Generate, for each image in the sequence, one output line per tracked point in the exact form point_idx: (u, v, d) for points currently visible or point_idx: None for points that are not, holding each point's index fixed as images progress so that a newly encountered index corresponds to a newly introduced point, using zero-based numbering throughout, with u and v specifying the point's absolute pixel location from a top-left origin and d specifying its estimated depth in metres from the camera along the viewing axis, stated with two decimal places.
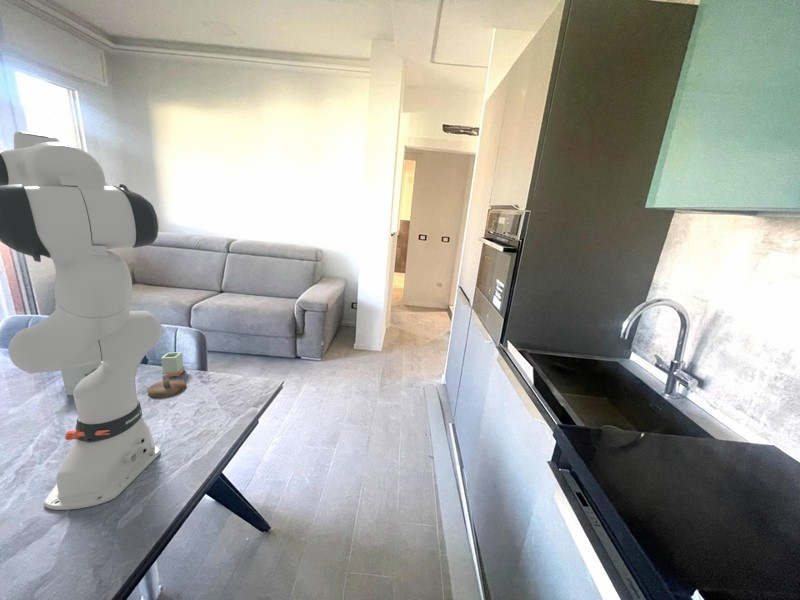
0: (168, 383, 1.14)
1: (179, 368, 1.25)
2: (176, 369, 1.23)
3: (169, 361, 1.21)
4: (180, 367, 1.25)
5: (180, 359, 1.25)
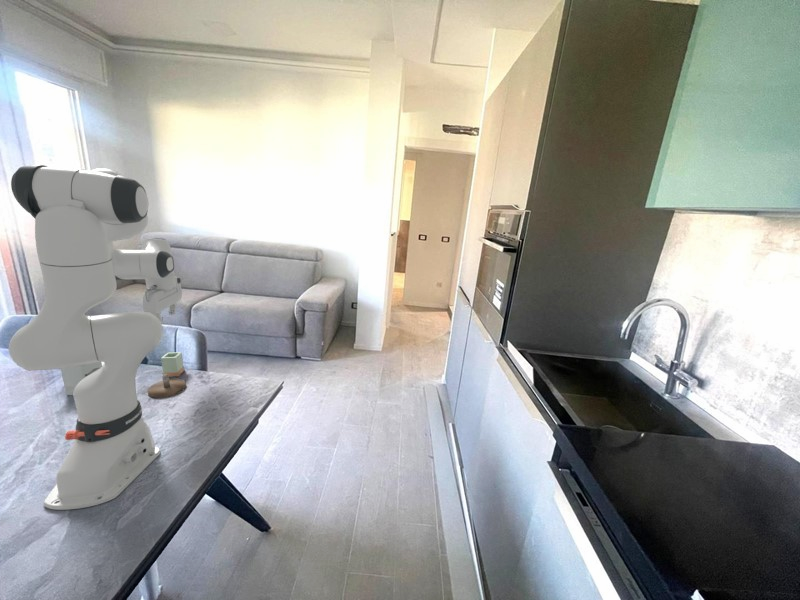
0: (168, 383, 1.14)
1: (179, 368, 1.25)
2: (176, 369, 1.23)
3: (169, 361, 1.21)
4: (180, 367, 1.25)
5: (180, 359, 1.25)
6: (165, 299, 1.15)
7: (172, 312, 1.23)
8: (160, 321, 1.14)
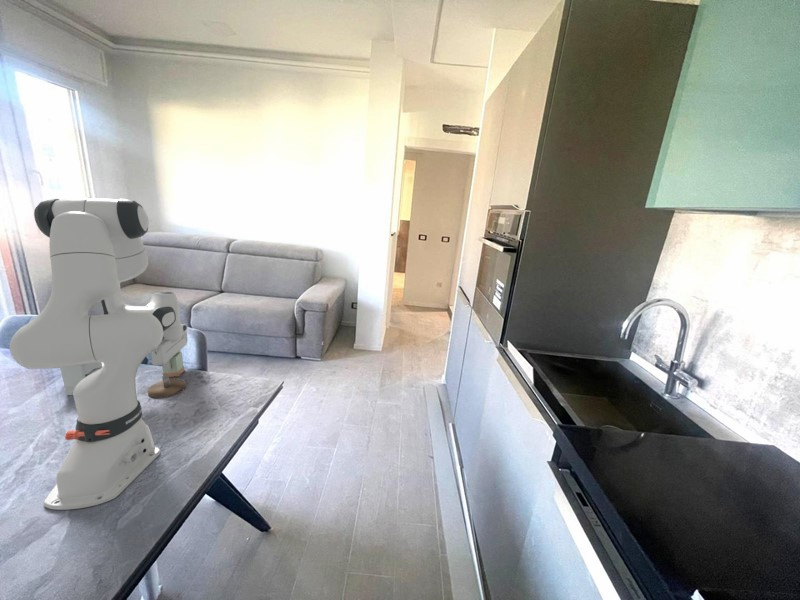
0: (168, 383, 1.14)
1: (179, 368, 1.25)
2: (176, 369, 1.23)
3: None
4: (180, 367, 1.25)
5: (180, 359, 1.25)
6: (172, 348, 1.21)
7: None
8: (169, 368, 1.21)
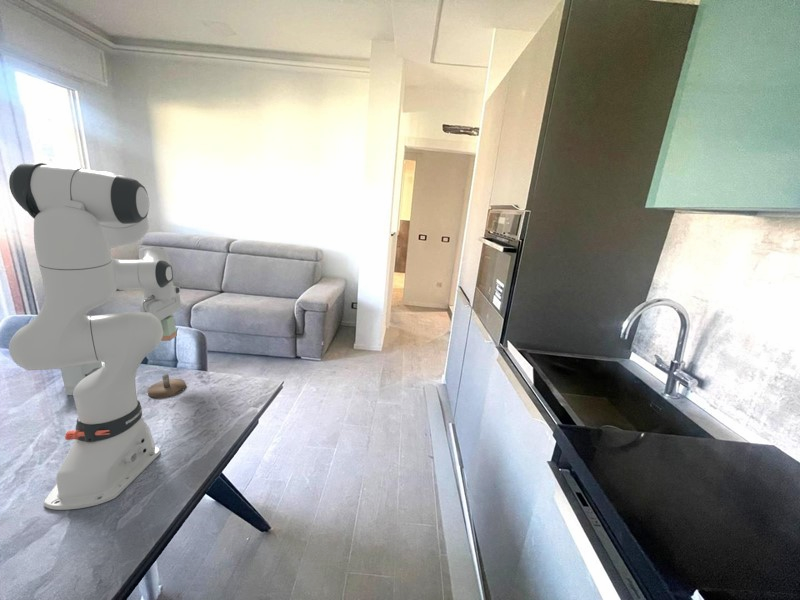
0: (168, 383, 1.14)
1: (171, 332, 1.17)
2: (168, 332, 1.15)
3: None
4: (172, 331, 1.17)
5: (172, 323, 1.17)
6: (163, 309, 1.13)
7: None
8: None
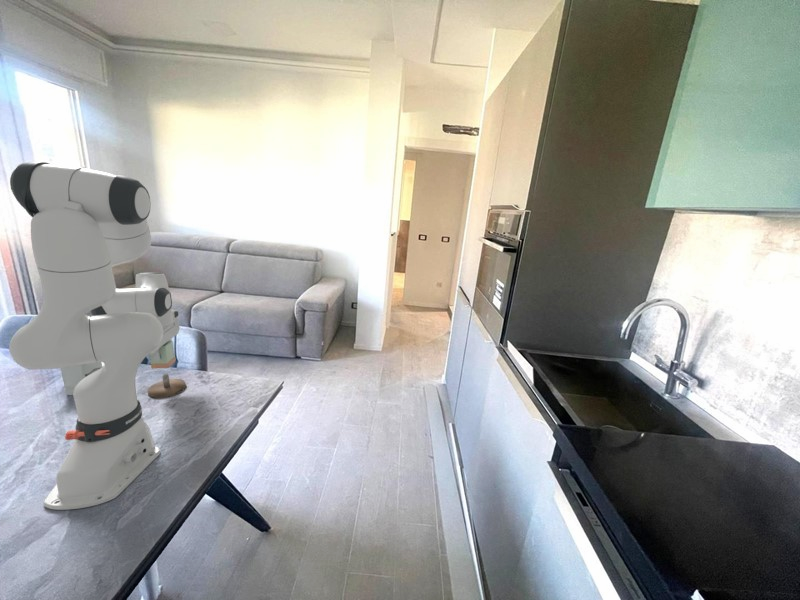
0: (168, 383, 1.14)
1: (169, 359, 1.12)
2: (166, 360, 1.10)
3: (158, 351, 1.08)
4: (171, 358, 1.12)
5: (171, 349, 1.12)
6: (161, 336, 1.07)
7: None
8: (158, 358, 1.08)
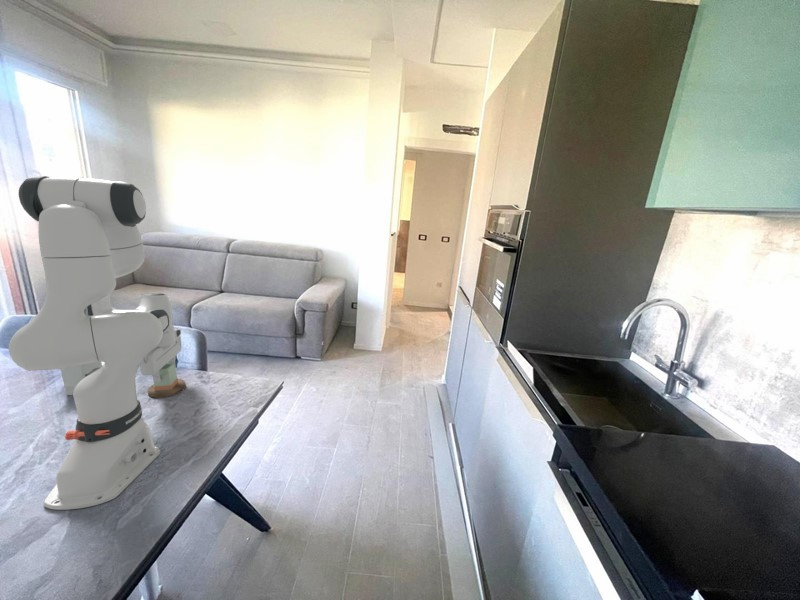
0: None
1: (172, 380, 1.13)
2: (169, 382, 1.12)
3: (161, 373, 1.10)
4: (173, 379, 1.14)
5: (173, 371, 1.14)
6: (164, 356, 1.09)
7: None
8: (159, 380, 1.08)
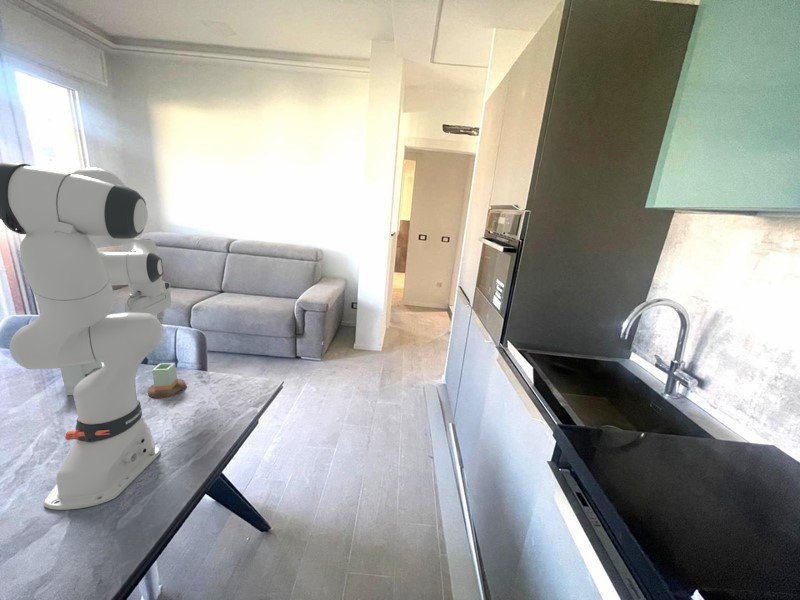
0: None
1: (172, 380, 1.13)
2: (169, 382, 1.12)
3: (161, 373, 1.10)
4: (173, 379, 1.14)
5: (173, 371, 1.14)
6: (151, 307, 1.04)
7: (160, 321, 1.11)
8: None
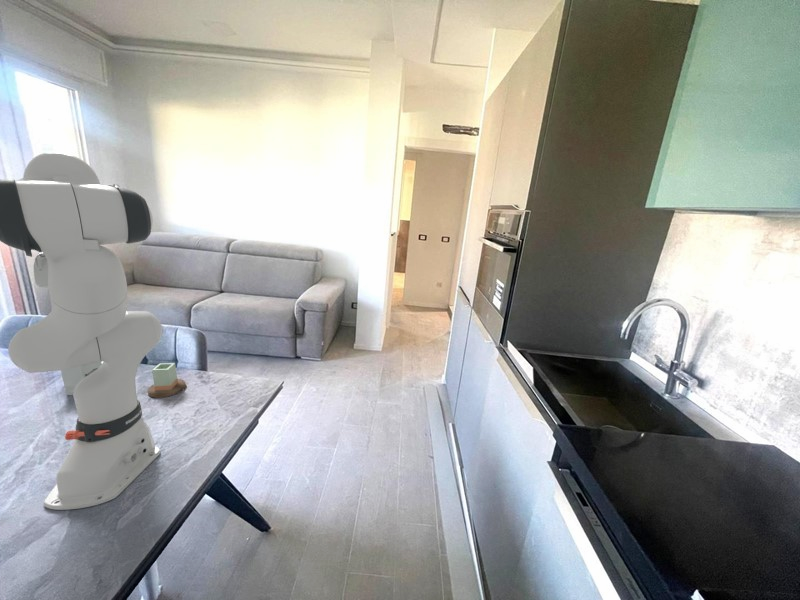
0: None
1: (172, 380, 1.13)
2: (169, 382, 1.12)
3: (161, 373, 1.10)
4: (173, 379, 1.14)
5: (173, 371, 1.14)
6: None
7: None
8: None
